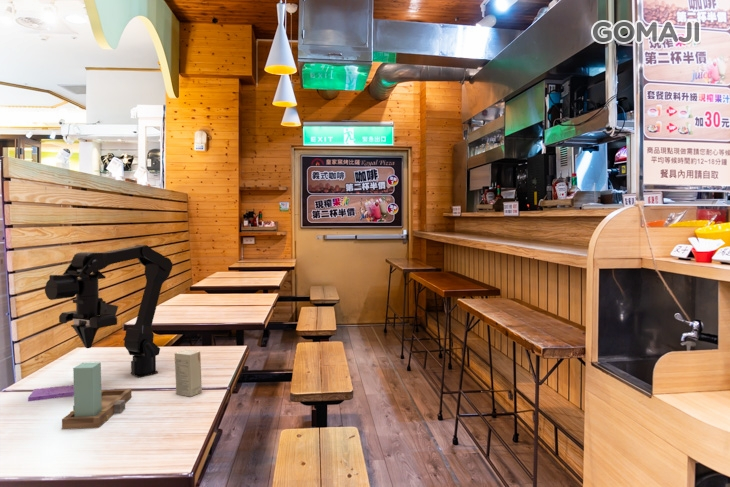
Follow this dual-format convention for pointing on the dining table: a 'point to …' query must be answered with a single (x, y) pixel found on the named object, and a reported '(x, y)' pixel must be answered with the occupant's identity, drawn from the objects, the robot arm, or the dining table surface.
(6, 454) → the dining table surface
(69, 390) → the sponges
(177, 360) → the skincare box
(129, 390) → the wooden tray
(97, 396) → the grey-green tall block
